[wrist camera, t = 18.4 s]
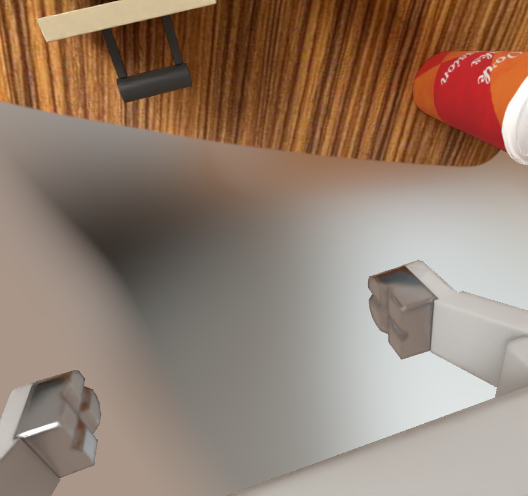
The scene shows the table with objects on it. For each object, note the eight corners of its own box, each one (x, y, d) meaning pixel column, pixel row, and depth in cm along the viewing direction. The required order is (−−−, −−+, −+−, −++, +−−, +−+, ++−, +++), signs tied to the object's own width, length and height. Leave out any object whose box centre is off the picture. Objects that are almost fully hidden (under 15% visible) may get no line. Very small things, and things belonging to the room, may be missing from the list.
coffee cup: (485, 37, 38) (647, 46, 26) (463, 122, 42) (593, 166, 30) (409, 38, 36) (543, 50, 24) (394, 127, 41) (501, 176, 28)
